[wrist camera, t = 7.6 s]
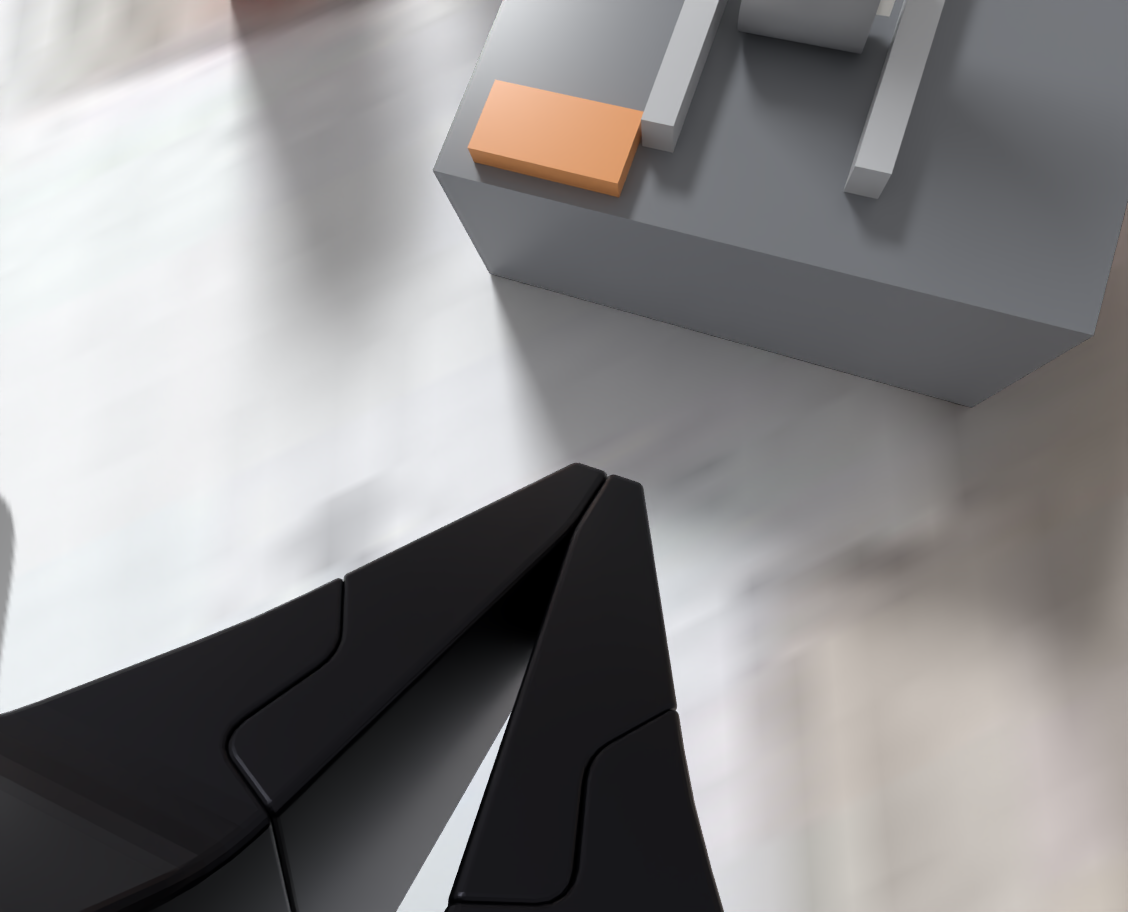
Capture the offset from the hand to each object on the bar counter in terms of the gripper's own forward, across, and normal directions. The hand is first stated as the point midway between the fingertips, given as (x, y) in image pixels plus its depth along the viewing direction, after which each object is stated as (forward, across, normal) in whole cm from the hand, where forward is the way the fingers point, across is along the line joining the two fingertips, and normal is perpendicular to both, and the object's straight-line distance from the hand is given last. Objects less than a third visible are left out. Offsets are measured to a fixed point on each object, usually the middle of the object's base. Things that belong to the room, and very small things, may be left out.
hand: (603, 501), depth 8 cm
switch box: (+19, 0, 0) cm, 19 cm away
